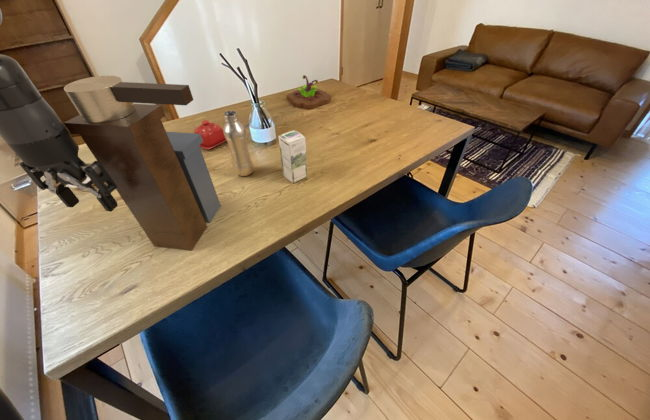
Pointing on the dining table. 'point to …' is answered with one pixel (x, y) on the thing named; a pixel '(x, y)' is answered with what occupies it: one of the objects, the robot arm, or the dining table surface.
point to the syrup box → (293, 156)
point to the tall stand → (146, 174)
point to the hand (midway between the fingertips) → (93, 206)
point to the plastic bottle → (237, 144)
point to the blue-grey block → (196, 171)
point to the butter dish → (210, 134)
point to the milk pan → (120, 97)
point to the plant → (308, 96)
